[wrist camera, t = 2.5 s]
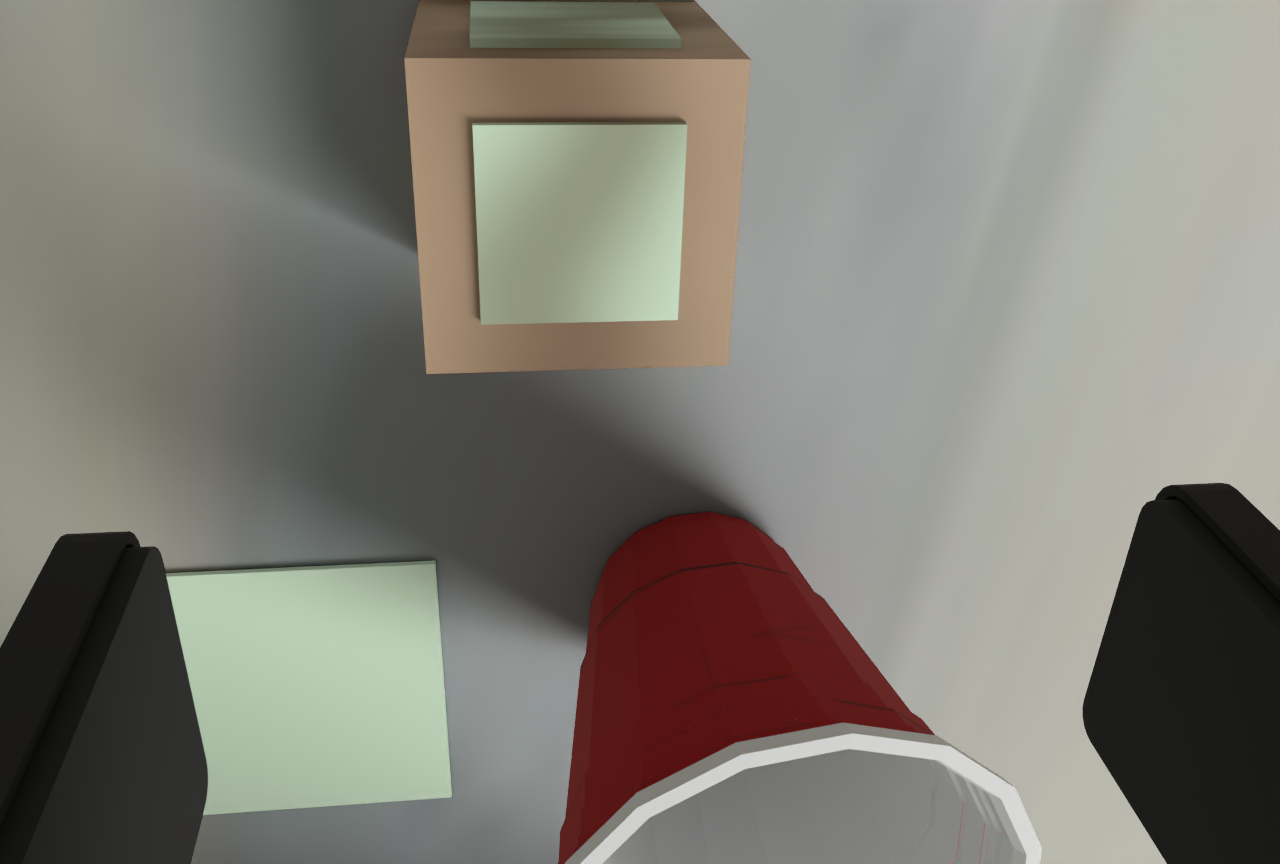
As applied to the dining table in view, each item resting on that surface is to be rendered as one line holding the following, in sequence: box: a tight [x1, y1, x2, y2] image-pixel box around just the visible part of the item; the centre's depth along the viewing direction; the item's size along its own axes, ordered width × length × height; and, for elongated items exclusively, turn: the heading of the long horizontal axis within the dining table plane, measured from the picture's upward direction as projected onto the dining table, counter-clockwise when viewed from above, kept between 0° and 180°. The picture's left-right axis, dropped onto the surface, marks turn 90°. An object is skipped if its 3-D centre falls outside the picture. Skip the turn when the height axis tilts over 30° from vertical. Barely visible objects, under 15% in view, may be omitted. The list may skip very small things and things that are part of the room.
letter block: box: [404, 0, 751, 374], centre depth 24 cm, size 6×6×6 cm
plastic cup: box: [558, 512, 1042, 864], centre depth 28 cm, size 11×11×12 cm
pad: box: [166, 561, 452, 815], centre depth 34 cm, size 9×9×1 cm
